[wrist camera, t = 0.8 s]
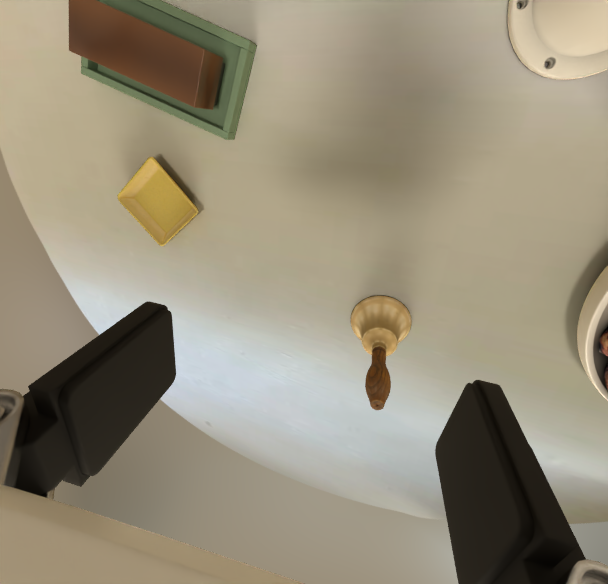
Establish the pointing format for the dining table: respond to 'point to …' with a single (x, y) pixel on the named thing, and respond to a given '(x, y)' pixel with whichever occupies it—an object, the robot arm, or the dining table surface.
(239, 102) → the tray
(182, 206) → the yellow flat tray
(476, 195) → the dining table surface
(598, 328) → the bowl
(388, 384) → the hand bell
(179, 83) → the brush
